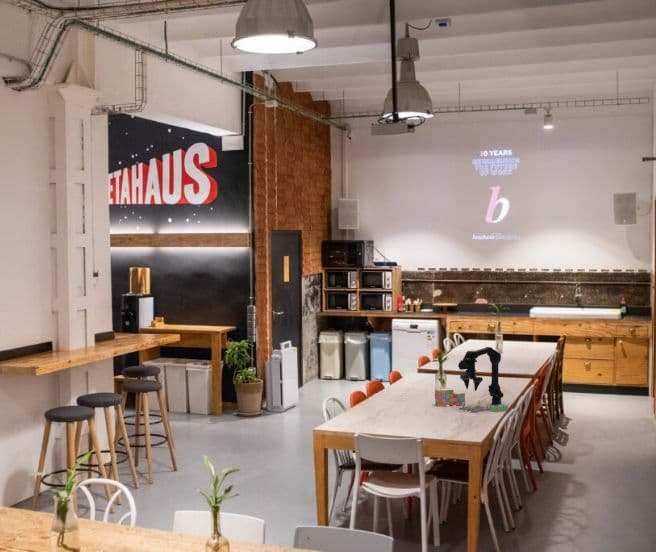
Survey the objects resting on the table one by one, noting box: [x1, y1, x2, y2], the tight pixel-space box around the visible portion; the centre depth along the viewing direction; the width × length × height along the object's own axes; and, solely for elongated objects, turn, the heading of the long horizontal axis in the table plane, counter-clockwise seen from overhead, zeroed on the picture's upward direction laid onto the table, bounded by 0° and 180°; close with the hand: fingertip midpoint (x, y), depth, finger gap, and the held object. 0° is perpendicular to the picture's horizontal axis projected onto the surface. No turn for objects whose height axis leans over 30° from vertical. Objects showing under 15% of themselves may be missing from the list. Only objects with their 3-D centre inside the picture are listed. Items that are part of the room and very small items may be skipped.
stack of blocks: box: [434, 388, 466, 407], centre depth 598 cm, size 21×6×12 cm, turn 102°
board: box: [489, 403, 509, 413], centre depth 576 cm, size 12×6×4 cm, turn 121°
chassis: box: [459, 399, 490, 413], centre depth 580 cm, size 17×14×6 cm
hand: (471, 389), depth 582 cm, fingers open, 9 cm apart
